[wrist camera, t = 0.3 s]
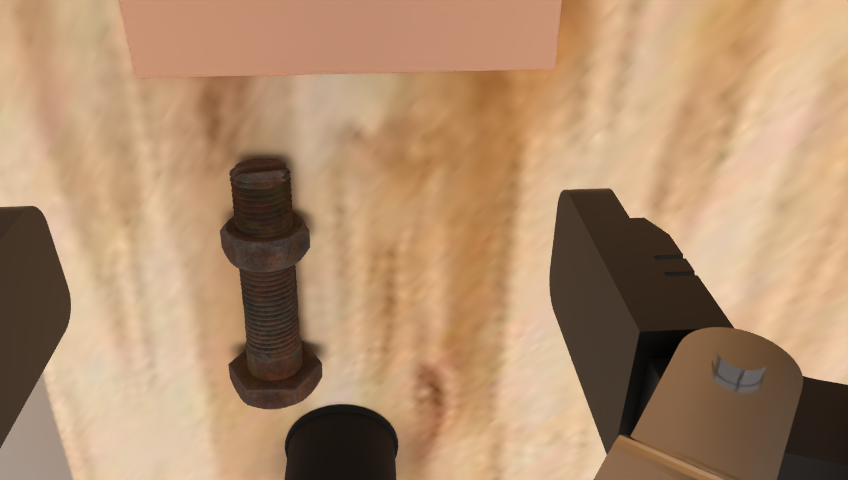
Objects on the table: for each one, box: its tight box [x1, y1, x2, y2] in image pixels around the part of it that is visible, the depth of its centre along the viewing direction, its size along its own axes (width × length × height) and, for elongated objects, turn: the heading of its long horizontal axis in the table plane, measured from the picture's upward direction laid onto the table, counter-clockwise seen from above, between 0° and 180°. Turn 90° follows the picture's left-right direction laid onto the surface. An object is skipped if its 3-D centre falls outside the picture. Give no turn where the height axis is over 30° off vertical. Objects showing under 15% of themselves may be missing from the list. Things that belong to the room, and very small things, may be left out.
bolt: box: [220, 159, 322, 409], centre depth 42 cm, size 6×5×15 cm
